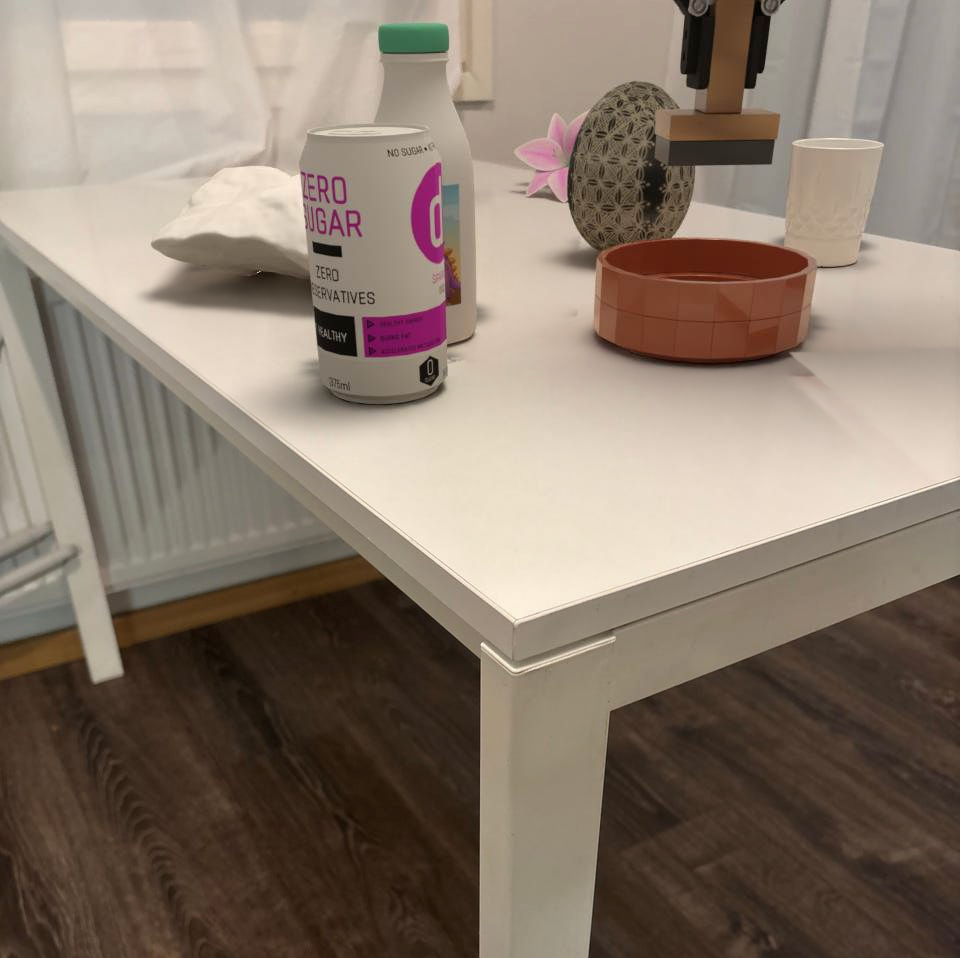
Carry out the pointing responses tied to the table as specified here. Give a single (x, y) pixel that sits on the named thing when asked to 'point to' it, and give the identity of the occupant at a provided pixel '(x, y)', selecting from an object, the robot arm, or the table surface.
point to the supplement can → (376, 259)
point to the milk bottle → (427, 102)
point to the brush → (720, 105)
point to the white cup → (830, 197)
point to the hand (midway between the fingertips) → (720, 84)
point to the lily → (551, 156)
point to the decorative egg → (625, 171)
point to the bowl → (703, 298)
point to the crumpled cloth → (242, 224)
